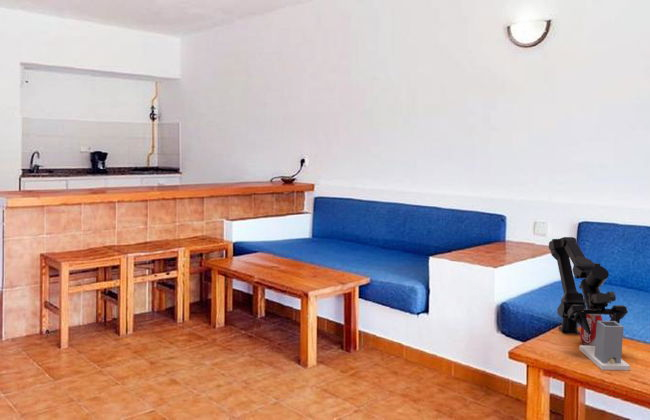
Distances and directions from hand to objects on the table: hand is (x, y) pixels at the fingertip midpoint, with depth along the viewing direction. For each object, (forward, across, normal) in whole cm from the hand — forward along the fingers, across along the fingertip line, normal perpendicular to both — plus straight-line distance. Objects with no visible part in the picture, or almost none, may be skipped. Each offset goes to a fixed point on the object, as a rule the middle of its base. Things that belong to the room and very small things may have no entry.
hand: (603, 334), depth 195 cm
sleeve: (+8, 0, +2) cm, 8 cm away
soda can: (-4, +2, +17) cm, 17 cm away
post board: (+6, +1, +6) cm, 9 cm away
